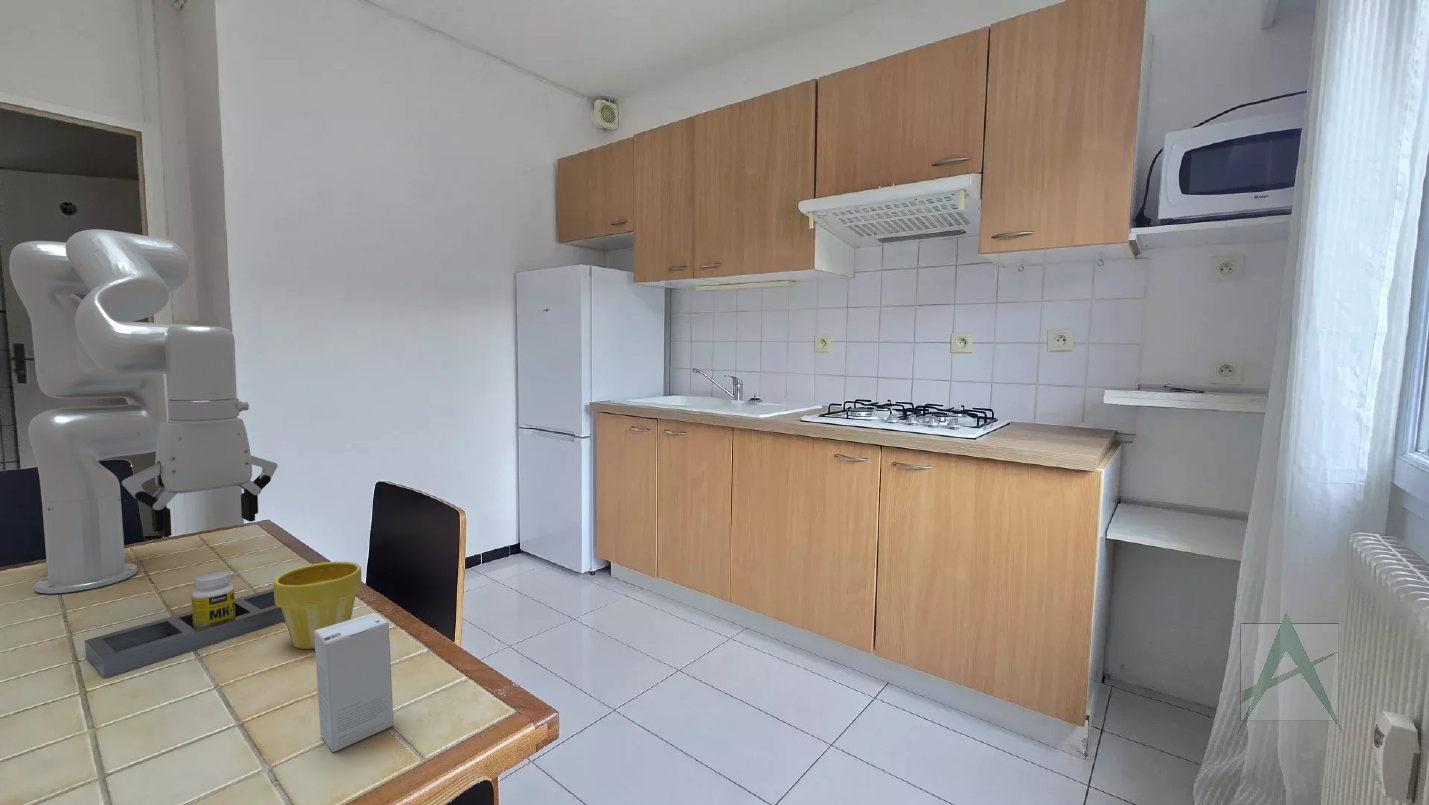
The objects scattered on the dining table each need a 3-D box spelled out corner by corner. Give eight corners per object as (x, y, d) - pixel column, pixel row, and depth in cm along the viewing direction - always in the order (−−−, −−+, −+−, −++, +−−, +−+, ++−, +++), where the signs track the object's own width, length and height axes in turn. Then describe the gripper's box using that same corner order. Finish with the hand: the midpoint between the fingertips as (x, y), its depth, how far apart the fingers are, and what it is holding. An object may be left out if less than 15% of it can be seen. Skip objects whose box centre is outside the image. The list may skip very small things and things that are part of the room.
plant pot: (330, 618, 90) (327, 556, 90) (379, 628, 87) (377, 564, 86) (258, 648, 80) (255, 580, 80) (311, 662, 77) (308, 590, 76)
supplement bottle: (211, 639, 83) (207, 582, 82) (184, 636, 84) (181, 580, 83) (244, 625, 88) (241, 571, 87) (219, 622, 89) (216, 568, 88)
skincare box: (379, 712, 66) (376, 609, 65) (395, 728, 63) (392, 620, 62) (316, 738, 61) (312, 628, 61) (330, 757, 59) (326, 641, 58)
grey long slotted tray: (85, 657, 78) (84, 640, 78) (298, 595, 99) (297, 581, 99) (104, 678, 73) (103, 660, 73) (324, 608, 94) (323, 594, 93)
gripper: (264, 406, 93) (267, 510, 94) (111, 413, 78) (118, 536, 80) (284, 409, 89) (288, 518, 90) (127, 418, 74) (134, 548, 76)
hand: (208, 527), depth 85 cm, fingers open, 9 cm apart
